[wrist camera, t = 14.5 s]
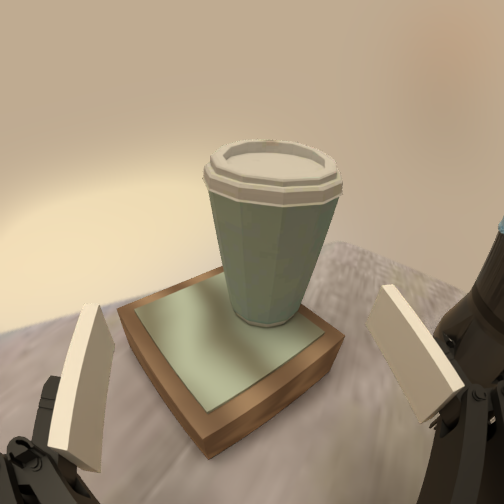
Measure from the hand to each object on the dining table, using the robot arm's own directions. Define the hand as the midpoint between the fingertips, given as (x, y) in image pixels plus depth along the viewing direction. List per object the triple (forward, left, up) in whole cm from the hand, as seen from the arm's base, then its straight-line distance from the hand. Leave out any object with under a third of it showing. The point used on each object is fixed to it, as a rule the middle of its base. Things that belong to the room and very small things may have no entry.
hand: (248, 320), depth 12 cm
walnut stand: (-5, -8, -17) cm, 19 cm away
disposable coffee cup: (-9, -8, -10) cm, 16 cm away
